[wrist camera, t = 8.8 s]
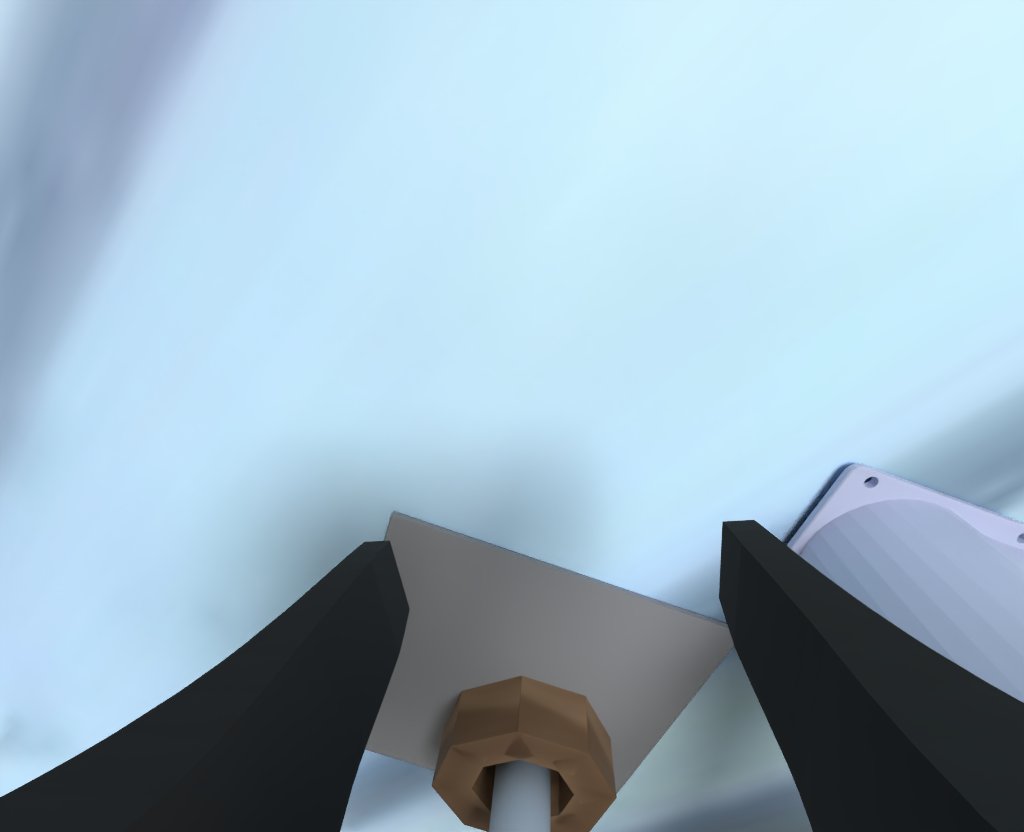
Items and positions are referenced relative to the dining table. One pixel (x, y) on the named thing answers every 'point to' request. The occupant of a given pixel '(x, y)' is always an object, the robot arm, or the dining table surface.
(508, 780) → the dowel
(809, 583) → the robot arm
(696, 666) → the mat
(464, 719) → the faceted ring
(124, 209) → the dining table surface
